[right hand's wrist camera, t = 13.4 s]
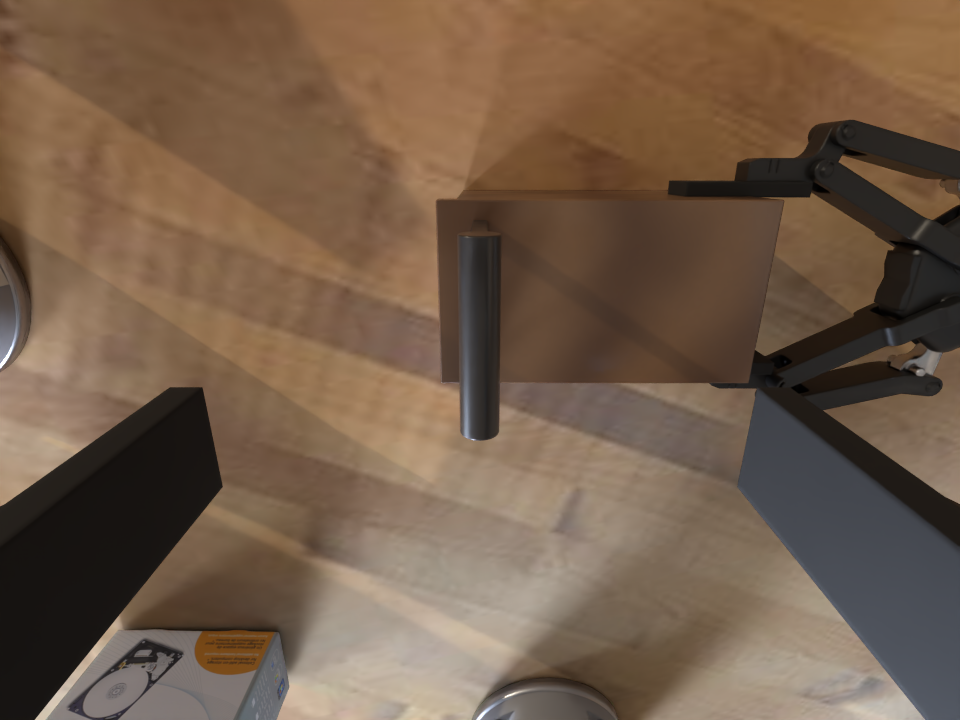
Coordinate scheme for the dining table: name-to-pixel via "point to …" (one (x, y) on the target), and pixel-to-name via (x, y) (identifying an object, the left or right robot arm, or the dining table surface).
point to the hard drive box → (181, 677)
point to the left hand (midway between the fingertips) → (665, 279)
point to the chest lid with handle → (598, 293)
